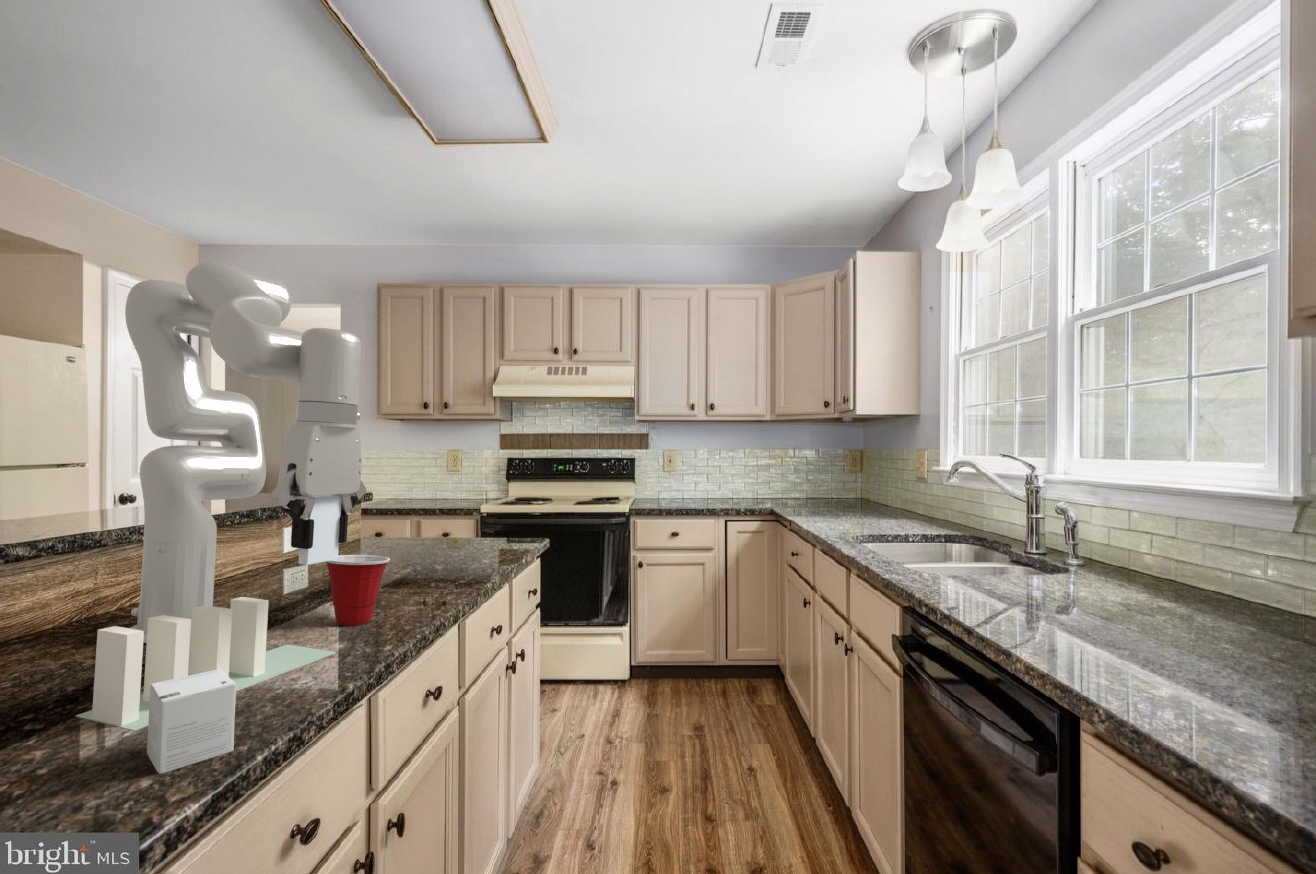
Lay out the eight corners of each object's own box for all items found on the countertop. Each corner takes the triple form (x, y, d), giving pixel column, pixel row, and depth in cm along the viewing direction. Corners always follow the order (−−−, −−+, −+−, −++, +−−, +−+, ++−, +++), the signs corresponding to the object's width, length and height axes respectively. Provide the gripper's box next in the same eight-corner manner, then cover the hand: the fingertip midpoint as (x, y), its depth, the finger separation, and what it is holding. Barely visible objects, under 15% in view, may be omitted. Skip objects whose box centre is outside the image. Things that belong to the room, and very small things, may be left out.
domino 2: (143, 700, 69) (148, 618, 69) (158, 695, 70) (162, 614, 71) (171, 707, 67) (176, 622, 68) (186, 701, 69) (191, 619, 69)
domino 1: (91, 718, 64) (97, 629, 64) (109, 712, 65) (114, 625, 66) (121, 725, 62) (127, 635, 63) (138, 719, 64) (143, 631, 64)
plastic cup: (399, 619, 106) (402, 555, 106) (341, 634, 96) (345, 564, 97) (367, 610, 111) (370, 549, 112) (309, 622, 102) (312, 556, 103)
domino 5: (307, 565, 77) (311, 491, 77) (298, 563, 77) (302, 491, 77) (337, 558, 81) (342, 490, 82) (329, 557, 82) (333, 489, 82)
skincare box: (218, 734, 62) (221, 666, 62) (234, 754, 58) (238, 681, 58) (144, 756, 57) (148, 682, 58) (156, 778, 53) (161, 700, 54)
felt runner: (75, 718, 64) (75, 715, 64) (287, 646, 90) (287, 644, 90) (134, 733, 62) (134, 730, 62) (336, 654, 87) (336, 652, 87)
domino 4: (226, 671, 78) (230, 599, 79) (238, 667, 80) (242, 596, 80) (253, 676, 77) (257, 603, 77) (264, 672, 78) (268, 600, 79)
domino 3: (187, 685, 73) (192, 608, 74) (200, 680, 75) (205, 605, 75) (215, 690, 72) (219, 612, 72) (228, 686, 74) (232, 609, 74)
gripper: (354, 420, 89) (347, 535, 89) (248, 411, 73) (239, 551, 72) (393, 421, 87) (386, 539, 86) (293, 412, 71) (283, 557, 70)
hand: (319, 543), depth 79 cm, fingers closed on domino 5, 4 cm apart
